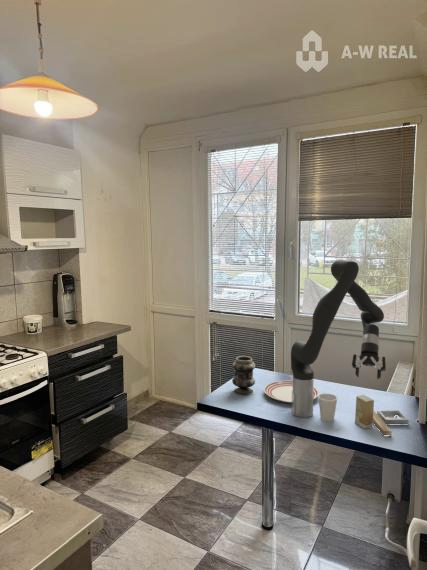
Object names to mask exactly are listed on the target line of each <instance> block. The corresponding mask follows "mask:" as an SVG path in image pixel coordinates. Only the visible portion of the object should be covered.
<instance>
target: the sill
mask: <svg viewBox="0 0 427 570" xmlns="http://www.w3.org/2000/svg"><path fill="white" fill-rule="evenodd" d="M376 412H377V411H375V409H373V423H374V424H375V425H374V424H373V425H374V427H375V426H376V427H377V428H378V429H379V430H380V432H381V433H382V434H383V435H391V436H392V429H390V428H389V427H388V426H389V425H386V424H385V423H384V422H383V421H382V419H381V418H380V417H379V416H378V415H377V413H376ZM376 427H375V428H376ZM377 428H376V429H377ZM378 429H377V430H378ZM379 430H378V431H379ZM380 432H379V433H380ZM381 433H380V434H381ZM382 434H381V435H382ZM383 435H382V436H383Z"/></svg>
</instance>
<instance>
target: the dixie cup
mask: <svg viewBox="0 0 427 570" xmlns="http://www.w3.org/2000/svg"><path fill="white" fill-rule="evenodd" d="M317 398H318V404H319V414H320V415H319V416H320V419H321V420H322V421H324V422H333V421H334V420H335V415H336V409H337V401H338V396H337V395H335V394H332V393H326V392H324V393H319V395H318V397H317Z"/></svg>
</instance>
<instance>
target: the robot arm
mask: <svg viewBox="0 0 427 570" xmlns="http://www.w3.org/2000/svg"><path fill="white" fill-rule="evenodd" d="M359 270H360V269H359V264H358V263H357V261H354V260H347V259H337V260H334V261H333V263H332V264H331V266H330V273H331V275H332V276H333V278H334V279H335V280H336V281H337V282H336V283H335V285H334V287H333V288H332V289H330V290H329V291H328V292H327V293H326V294H324V295H323V296H322V297H321V298H320V300H319V301H318V302H317V305H316V306H315V309H314V310H313V314H312V319H311V320H312V322H311V323H312V325H311V326H312V327H311V332H310V335H309V338H308V340H306V341H304V340H298V341H296V342H294V343H293V344H292V346H291V350H290V367H291V372H292V381H293V391H292V403H291V408H290V409H291V412H292V415H293V416H294V417H299V418H309V417H313V414H314V400H313V387H314V381H315V380H314V379H315V377H314V370H313V369H312V368H311V366H310V365H312V364H314V363H315V362H316V361H317V359H318V357H319V355H320V351H321V349H322V346H323V343H324V340H325V338H326V336H327V334H328V331H329V329H330V327H331V325H332V323H333V321H334V319H335V317H336V315H337V314H338V311H339V309H340V307H341V305H342V303H343V301H344V298H346V297H345V296H346V295H347V293H348V295H349V296H350V297H351V299H352V300H353V302H354V303H355V305H356V307H357V308H358V309H359V310H360V311H361V313H360V319H361V323H362V338H361V346H360V347H361V349H360V355H356V354H355V353H354V354H353V356H352V360H351V361H352V362H351V367H352V369H355V371H354V372H355V376H356V377H357V378H359V376H360V369H361V368H363V367H364V366H366V367H374V368H375V369H376V370H377V371H376V372H377V375H376V378H377V380H380V379H381V378H382V372H386V370H387V369H386V368H387V367H386V366H387V365H386V364H387V363H386V357H385V356H381V357H379V351H380V350H379V348H380V345H379V344H380V342H379V340H380V339H379V338H380V337H379V335H380V328H379V326H377V325H376V324H377V323H382V321H383V320H385V319H384V318H385V314H384V312H383V309H382V308H381V307H380V306H378V305H377V304H376V303H375V302H373V301H372V299H371V298H370V296H369V294H368V292H367V291H366V290H365V289H364V288H363V287H362V286H361V285H359V284H358V282H356V281H355V280H356V279H357V277H358V274H359ZM358 360H359V362H358V363H357V361H358ZM379 361H380V363H382V366H381V365H379V363H378V362H379ZM356 363H357V364H356Z"/></svg>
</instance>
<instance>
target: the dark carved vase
mask: <svg viewBox="0 0 427 570" xmlns="http://www.w3.org/2000/svg"><path fill="white" fill-rule="evenodd" d="M232 367H233V369H234V376H233V377H232V380H231V382H232V384H233V385H234V386H235V387H236V388H235V389H234V390H233V391H234V393H235V394H237V395H241V396H244V395H246V396H247V395H250V394H253V393H254V390H253V389H252V388H251V387H253V386H254V385H255V383H256V379H255V377H254V370H255V368H256V364H255V362H254V361H253V358H252V357H251V356H247V355H240V356H237V357H236V358H235V361H234V362H233V363H232Z"/></svg>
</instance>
